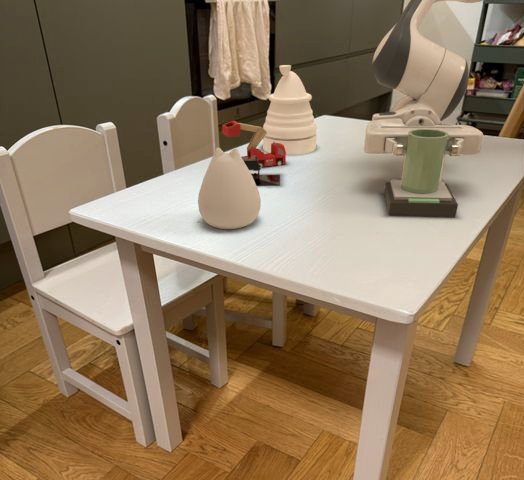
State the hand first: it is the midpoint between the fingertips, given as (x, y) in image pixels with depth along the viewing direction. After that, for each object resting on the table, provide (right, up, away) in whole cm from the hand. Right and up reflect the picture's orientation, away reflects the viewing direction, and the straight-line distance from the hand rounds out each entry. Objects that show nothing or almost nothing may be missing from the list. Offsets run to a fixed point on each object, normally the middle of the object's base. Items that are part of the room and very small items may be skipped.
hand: (427, 151), depth 84 cm
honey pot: (-21, +16, +39) cm, 47 cm away
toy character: (-33, -12, +1) cm, 35 cm away
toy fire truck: (-29, +7, +27) cm, 40 cm away
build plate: (-30, +1, +19) cm, 35 cm away
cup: (0, -5, +4) cm, 6 cm away
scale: (0, -8, +5) cm, 9 cm away
